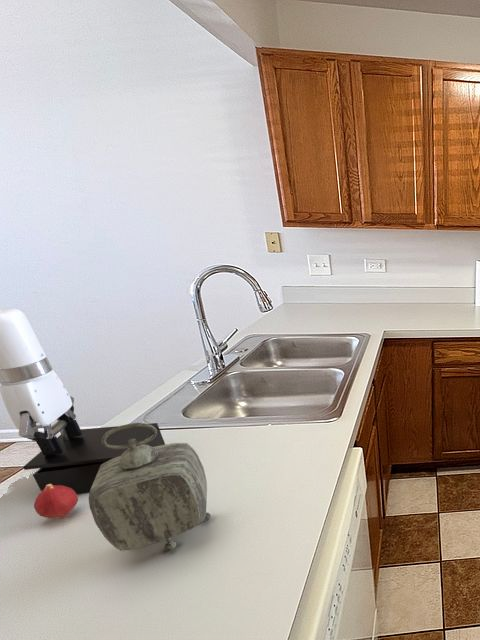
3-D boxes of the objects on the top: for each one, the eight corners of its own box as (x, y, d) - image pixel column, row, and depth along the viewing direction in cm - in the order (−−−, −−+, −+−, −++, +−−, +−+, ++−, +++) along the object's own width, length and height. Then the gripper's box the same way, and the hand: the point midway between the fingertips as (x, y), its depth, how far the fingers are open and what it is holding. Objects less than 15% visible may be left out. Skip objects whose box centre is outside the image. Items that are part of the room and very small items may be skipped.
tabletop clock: (218, 510, 80) (181, 402, 70) (218, 541, 73) (177, 426, 63) (126, 541, 73) (72, 425, 63) (117, 578, 66) (54, 455, 56)
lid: (24, 470, 80) (14, 446, 78) (66, 433, 92) (58, 412, 90) (131, 458, 85) (125, 436, 83) (158, 425, 98) (153, 405, 96)
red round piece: (35, 524, 77) (16, 492, 74) (70, 503, 82) (54, 472, 79) (57, 530, 76) (39, 497, 73) (91, 508, 81) (75, 477, 78)
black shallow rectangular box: (45, 500, 83) (32, 475, 81) (83, 460, 95) (73, 438, 93) (142, 483, 88) (132, 459, 85) (166, 447, 100) (158, 425, 98)
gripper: (30, 357, 86) (67, 427, 93) (-36, 392, 71) (14, 473, 78) (72, 352, 88) (105, 421, 95) (17, 385, 73) (61, 464, 80)
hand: (64, 444), depth 87 cm, fingers closed on lid, 6 cm apart
